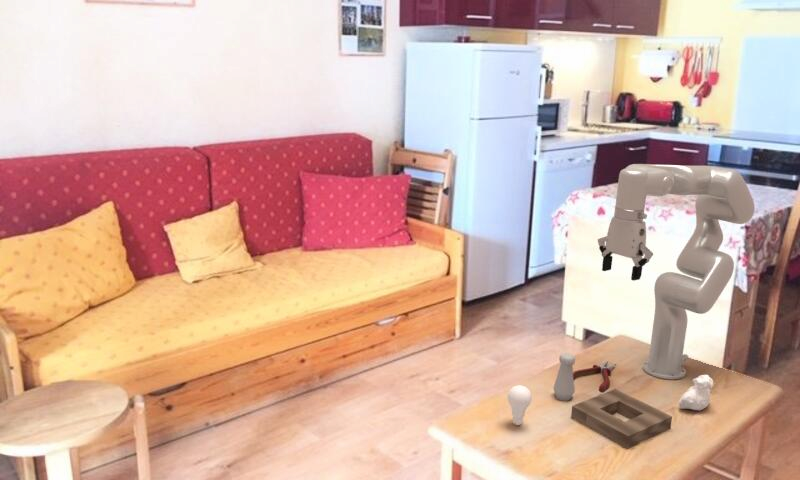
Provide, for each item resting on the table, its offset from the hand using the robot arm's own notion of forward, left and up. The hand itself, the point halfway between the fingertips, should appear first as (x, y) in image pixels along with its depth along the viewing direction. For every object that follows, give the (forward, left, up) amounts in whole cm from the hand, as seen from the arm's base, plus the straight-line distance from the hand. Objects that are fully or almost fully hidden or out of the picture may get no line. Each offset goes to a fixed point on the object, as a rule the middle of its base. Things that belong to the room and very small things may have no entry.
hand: (620, 274), depth 189 cm
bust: (-13, +20, -36) cm, 43 cm away
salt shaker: (+14, -4, -36) cm, 39 cm away
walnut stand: (+12, +14, -36) cm, 40 cm away
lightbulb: (+36, 0, -36) cm, 50 cm away
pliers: (-5, -6, -36) cm, 37 cm away
